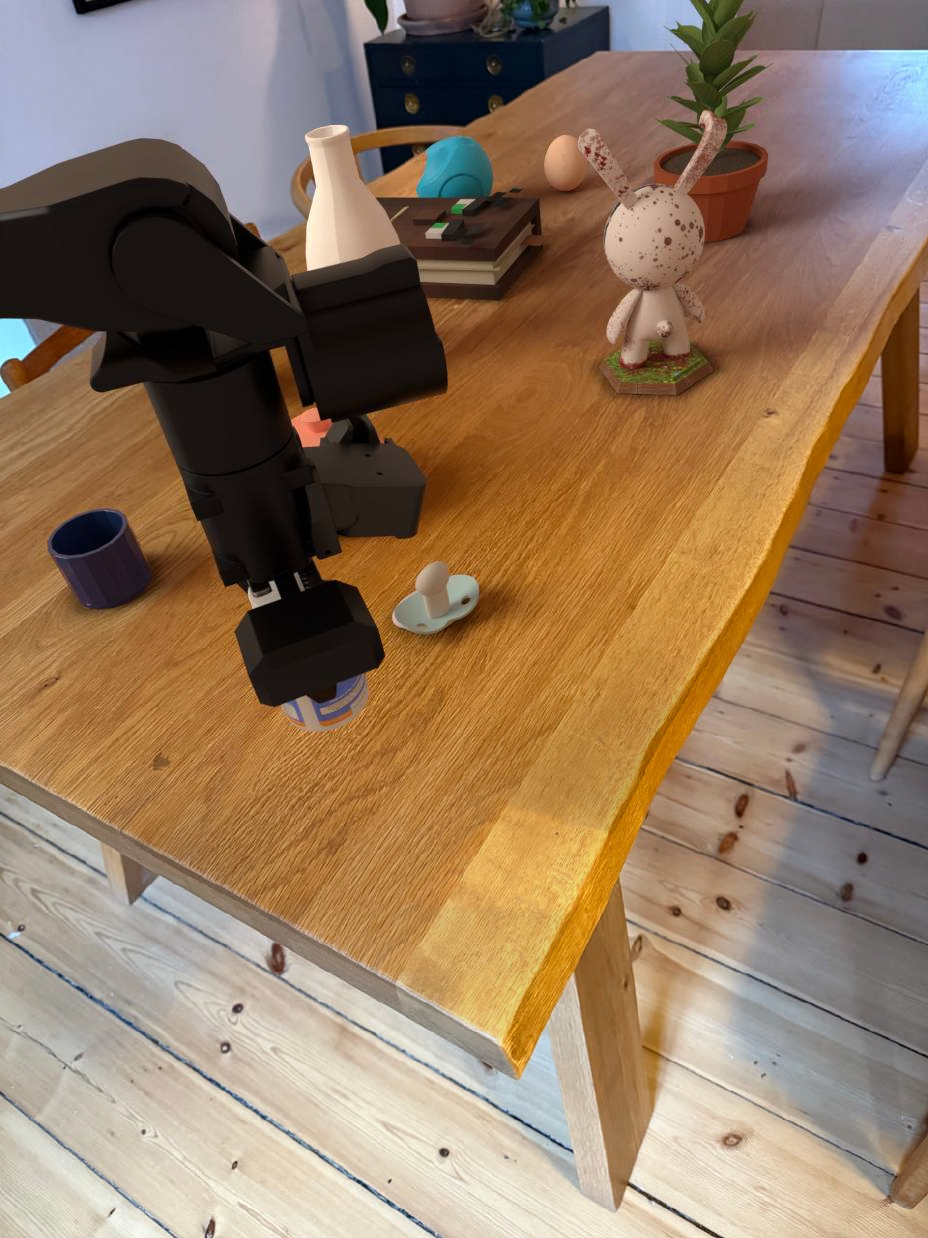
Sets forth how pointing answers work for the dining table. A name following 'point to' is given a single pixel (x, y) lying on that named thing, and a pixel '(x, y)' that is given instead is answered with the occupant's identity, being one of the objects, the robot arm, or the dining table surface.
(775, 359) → the dining table surface
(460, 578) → the pacifier
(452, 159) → the blue rounded dome
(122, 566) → the dark blue cup
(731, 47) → the potted plant
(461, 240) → the decorative book
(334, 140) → the bottle
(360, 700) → the pill bottle
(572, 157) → the egg
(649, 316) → the figurine
